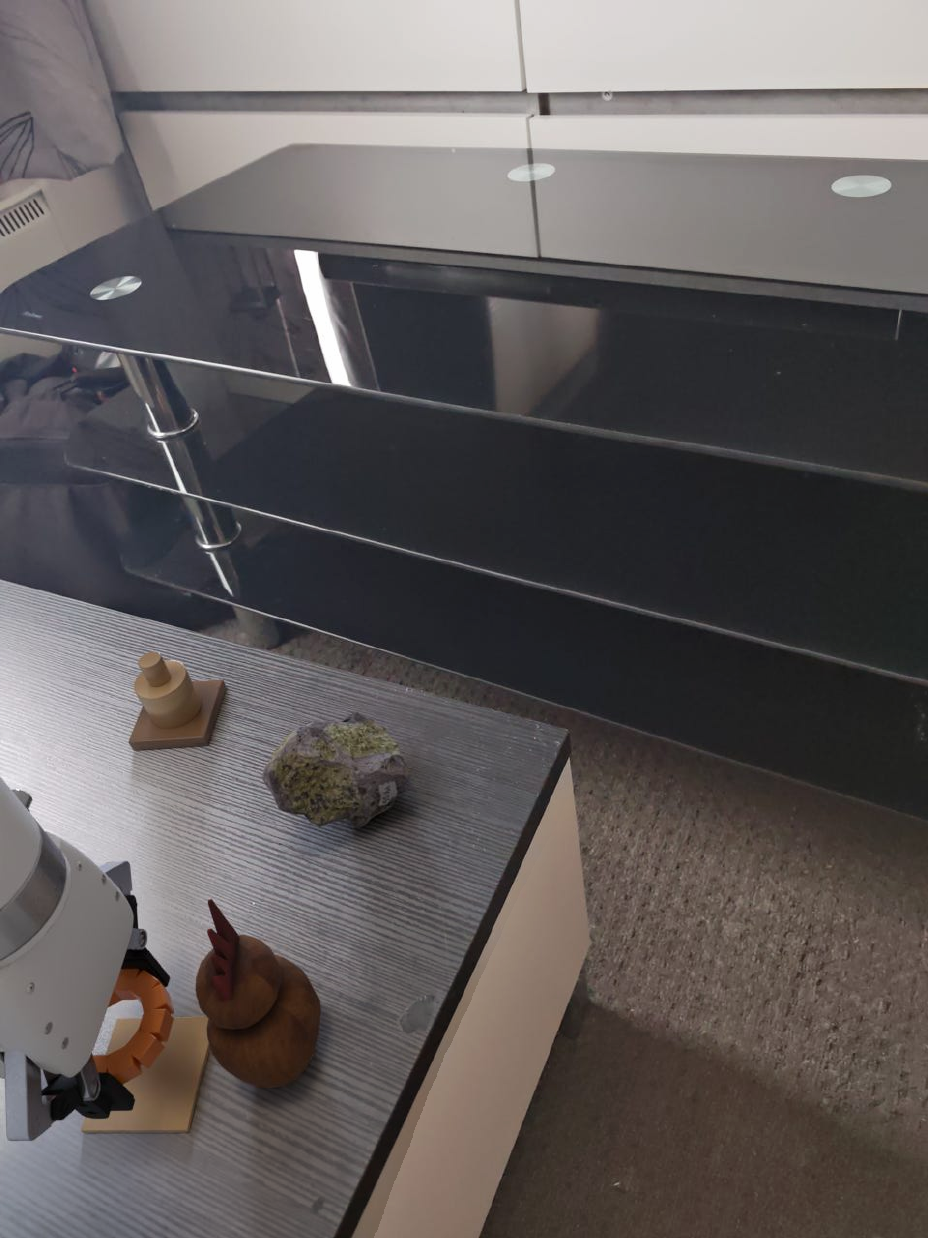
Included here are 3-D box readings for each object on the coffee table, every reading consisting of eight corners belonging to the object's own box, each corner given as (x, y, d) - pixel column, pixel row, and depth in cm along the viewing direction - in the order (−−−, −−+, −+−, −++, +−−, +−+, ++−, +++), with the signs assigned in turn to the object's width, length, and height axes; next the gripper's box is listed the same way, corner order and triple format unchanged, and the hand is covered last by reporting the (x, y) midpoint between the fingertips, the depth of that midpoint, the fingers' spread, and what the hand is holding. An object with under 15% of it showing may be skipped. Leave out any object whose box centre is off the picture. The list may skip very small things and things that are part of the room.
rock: (373, 886, 67) (340, 805, 60) (269, 845, 71) (227, 765, 64) (441, 775, 73) (418, 691, 67) (342, 744, 78) (311, 661, 71)
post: (208, 746, 80) (176, 686, 75) (133, 750, 81) (96, 692, 76) (227, 687, 85) (199, 627, 80) (156, 692, 86) (124, 634, 81)
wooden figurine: (267, 990, 62) (189, 868, 52) (344, 1008, 60) (279, 886, 50) (221, 1092, 58) (126, 980, 48) (302, 1116, 56) (221, 1004, 46)
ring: (49, 1089, 54) (38, 1080, 53) (88, 980, 58) (78, 970, 57) (155, 1088, 53) (146, 1079, 52) (186, 977, 57) (178, 966, 57)
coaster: (189, 1132, 56) (187, 1130, 56) (83, 1133, 57) (80, 1130, 57) (217, 1018, 61) (215, 1016, 61) (119, 1021, 62) (116, 1018, 62)
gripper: (-13, 754, 51) (118, 915, 63) (-186, 1078, 39) (18, 1203, 51) (112, 745, 50) (221, 911, 62) (-25, 1076, 38) (145, 1204, 50)
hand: (129, 1041), depth 57 cm, fingers closed on ring, 6 cm apart
